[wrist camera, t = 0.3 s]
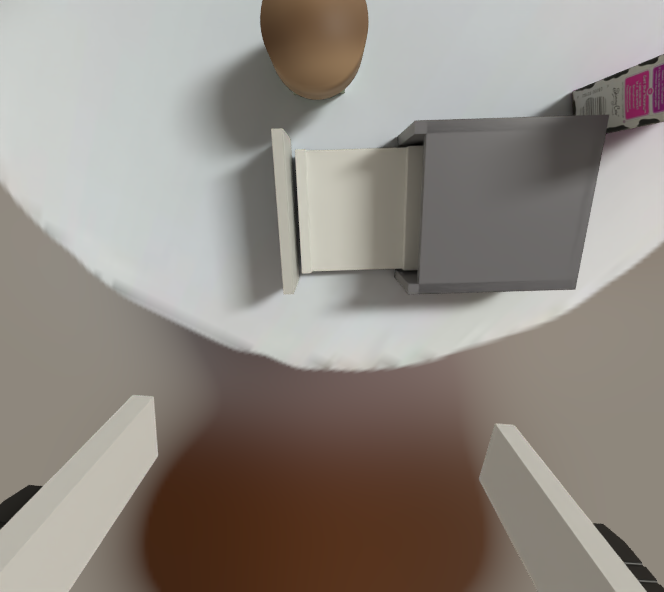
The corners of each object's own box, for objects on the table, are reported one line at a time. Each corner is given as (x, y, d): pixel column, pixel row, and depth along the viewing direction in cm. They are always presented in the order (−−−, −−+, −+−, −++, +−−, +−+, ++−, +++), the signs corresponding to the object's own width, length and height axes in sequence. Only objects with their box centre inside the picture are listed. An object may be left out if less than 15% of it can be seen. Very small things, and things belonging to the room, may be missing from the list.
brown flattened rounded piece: (265, -9, 27) (255, -43, 23) (363, -13, 27) (368, -47, 23) (273, 101, 29) (265, 87, 25) (363, 98, 29) (368, 83, 25)
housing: (554, 130, 34) (609, 114, 27) (532, 273, 38) (575, 289, 31) (398, 135, 34) (415, 120, 27) (394, 277, 38) (408, 294, 31)
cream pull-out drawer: (432, 135, 34) (453, 123, 28) (424, 275, 38) (441, 289, 32) (281, 140, 34) (270, 128, 28) (290, 279, 38) (283, 294, 32)
